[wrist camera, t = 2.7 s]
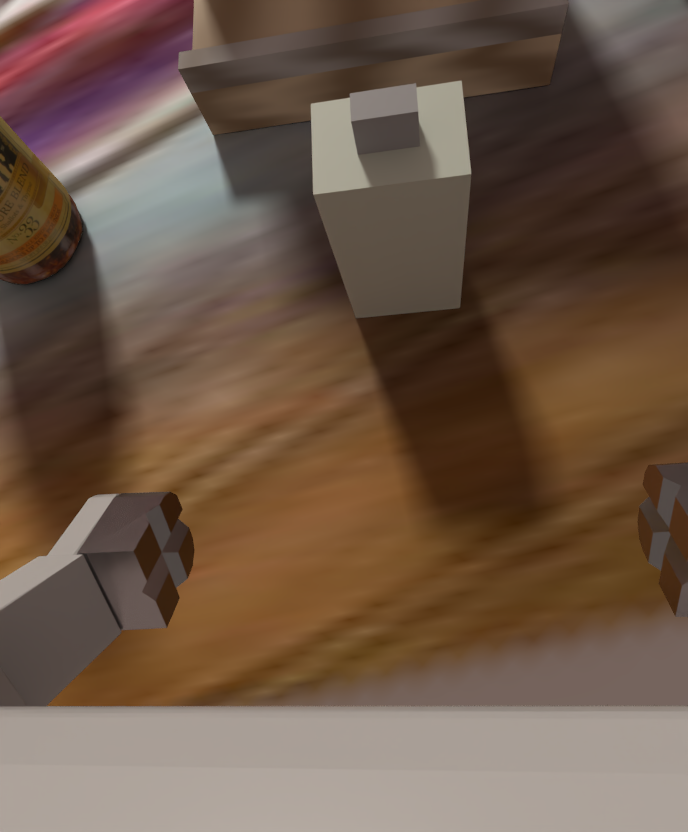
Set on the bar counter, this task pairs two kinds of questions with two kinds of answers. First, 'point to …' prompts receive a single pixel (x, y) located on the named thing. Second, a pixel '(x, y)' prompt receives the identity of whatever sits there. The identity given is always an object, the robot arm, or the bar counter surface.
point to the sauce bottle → (32, 215)
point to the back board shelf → (359, 52)
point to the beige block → (395, 195)
